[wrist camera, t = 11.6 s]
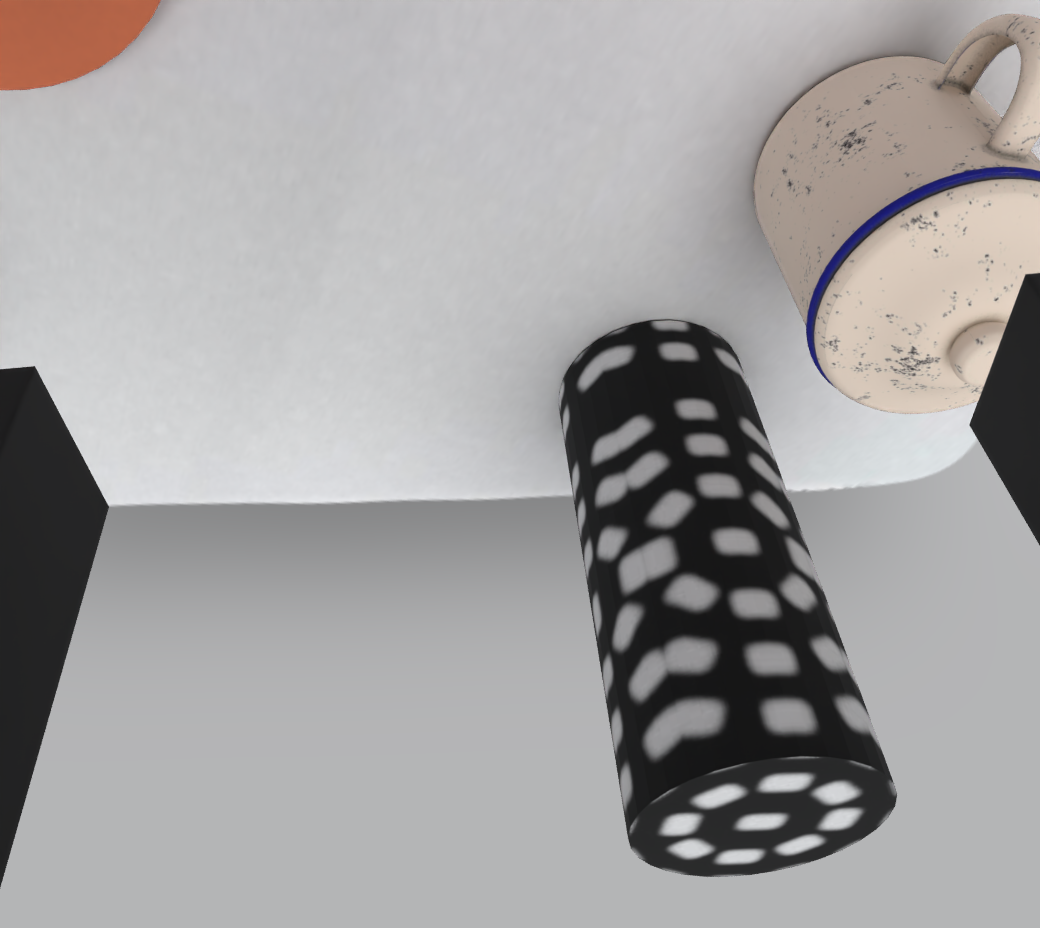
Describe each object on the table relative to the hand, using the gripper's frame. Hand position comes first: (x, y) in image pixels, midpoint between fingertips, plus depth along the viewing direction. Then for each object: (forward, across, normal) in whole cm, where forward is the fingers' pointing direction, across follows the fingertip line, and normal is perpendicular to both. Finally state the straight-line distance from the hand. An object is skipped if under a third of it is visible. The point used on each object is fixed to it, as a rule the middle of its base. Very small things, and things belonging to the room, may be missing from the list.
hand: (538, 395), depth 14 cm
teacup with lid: (+23, +14, -9) cm, 28 cm away
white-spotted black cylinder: (+23, +6, -21) cm, 32 cm away
